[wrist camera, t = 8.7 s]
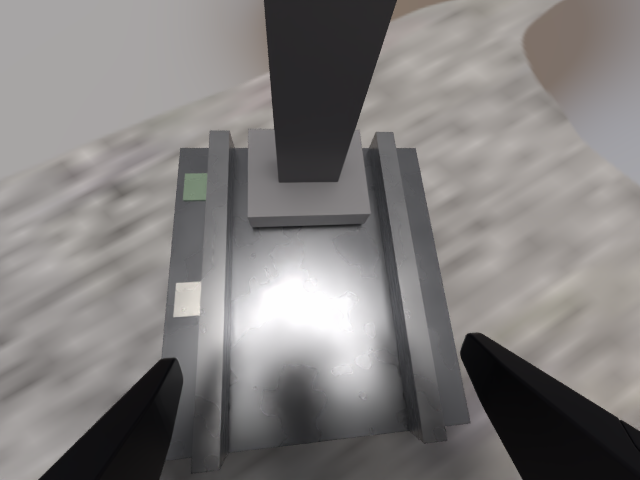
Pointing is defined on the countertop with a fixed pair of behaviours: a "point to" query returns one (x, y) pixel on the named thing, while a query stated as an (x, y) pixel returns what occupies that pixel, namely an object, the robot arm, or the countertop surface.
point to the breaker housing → (305, 315)
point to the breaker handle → (315, 112)
